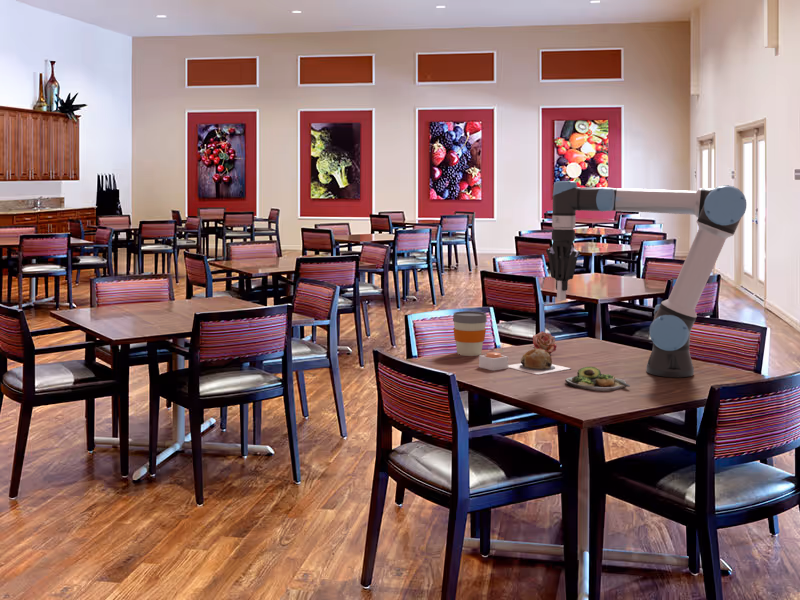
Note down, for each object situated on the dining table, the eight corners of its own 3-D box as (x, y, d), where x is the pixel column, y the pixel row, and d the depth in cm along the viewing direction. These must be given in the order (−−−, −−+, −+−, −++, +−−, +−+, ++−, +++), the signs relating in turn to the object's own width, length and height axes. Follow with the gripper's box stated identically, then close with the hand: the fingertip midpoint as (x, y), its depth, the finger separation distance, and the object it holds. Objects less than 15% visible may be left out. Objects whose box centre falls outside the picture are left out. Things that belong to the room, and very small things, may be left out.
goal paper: (536, 361, 306) (536, 360, 306) (570, 369, 293) (571, 368, 293) (504, 366, 296) (504, 365, 296) (537, 375, 283) (537, 373, 283)
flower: (524, 347, 323) (529, 332, 318) (543, 340, 327) (548, 326, 321) (539, 365, 317) (544, 350, 312) (558, 358, 321) (564, 343, 316)
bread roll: (538, 380, 289) (548, 360, 286) (513, 364, 294) (523, 344, 291) (550, 375, 297) (560, 356, 294) (526, 360, 302) (536, 340, 299)
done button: (494, 360, 298) (494, 351, 297) (504, 362, 294) (504, 354, 293) (483, 362, 295) (483, 353, 294) (493, 364, 291) (493, 355, 290)
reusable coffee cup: (445, 353, 318) (446, 313, 316) (464, 349, 328) (464, 310, 326) (474, 358, 311) (475, 317, 309) (492, 353, 321) (493, 313, 319)
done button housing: (494, 364, 299) (494, 353, 299) (508, 368, 294) (508, 356, 293) (479, 367, 295) (479, 355, 295) (492, 370, 290) (493, 358, 289)
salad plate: (643, 387, 269) (643, 372, 268) (611, 396, 256) (612, 381, 256) (590, 377, 283) (590, 363, 282) (558, 385, 270) (558, 371, 270)
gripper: (540, 228, 285) (538, 298, 288) (570, 229, 274) (568, 303, 277) (556, 227, 289) (554, 297, 292) (586, 229, 279) (584, 301, 282)
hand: (561, 300), depth 285 cm, fingers closed
